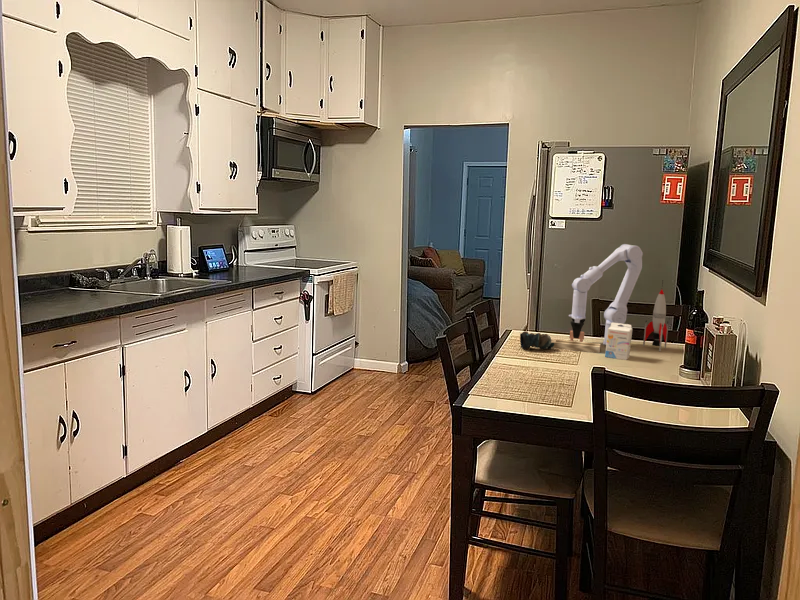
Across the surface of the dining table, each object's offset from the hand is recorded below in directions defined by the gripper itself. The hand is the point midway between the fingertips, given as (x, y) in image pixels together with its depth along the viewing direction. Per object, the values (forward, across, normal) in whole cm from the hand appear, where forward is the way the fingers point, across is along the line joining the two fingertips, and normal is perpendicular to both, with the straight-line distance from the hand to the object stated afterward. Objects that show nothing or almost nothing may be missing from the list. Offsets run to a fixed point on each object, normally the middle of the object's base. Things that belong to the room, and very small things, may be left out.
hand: (576, 336), depth 267 cm
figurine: (+4, +19, -15) cm, 24 cm away
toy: (+3, -6, +33) cm, 34 cm away
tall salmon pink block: (+3, 0, 0) cm, 3 cm away
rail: (+3, +10, 0) cm, 11 cm away
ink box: (+4, +16, +17) cm, 24 cm away
